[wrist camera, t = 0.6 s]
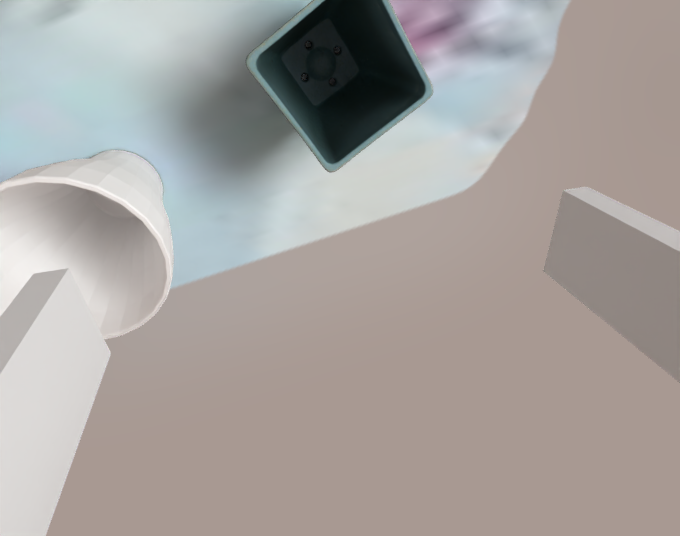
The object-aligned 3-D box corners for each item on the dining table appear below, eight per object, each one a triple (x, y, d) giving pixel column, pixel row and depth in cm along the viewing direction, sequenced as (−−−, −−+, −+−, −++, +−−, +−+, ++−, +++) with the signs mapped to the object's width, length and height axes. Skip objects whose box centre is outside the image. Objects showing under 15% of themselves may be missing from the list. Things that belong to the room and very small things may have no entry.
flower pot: (309, 143, 35) (330, 177, 28) (239, 51, 31) (241, 60, 23) (392, 77, 34) (437, 93, 27) (331, -31, 29) (365, -48, 22)
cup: (98, 258, 36) (38, 365, 25) (18, 145, 31) (-106, 217, 19) (211, 220, 37) (202, 308, 26) (153, 101, 31) (109, 147, 20)
